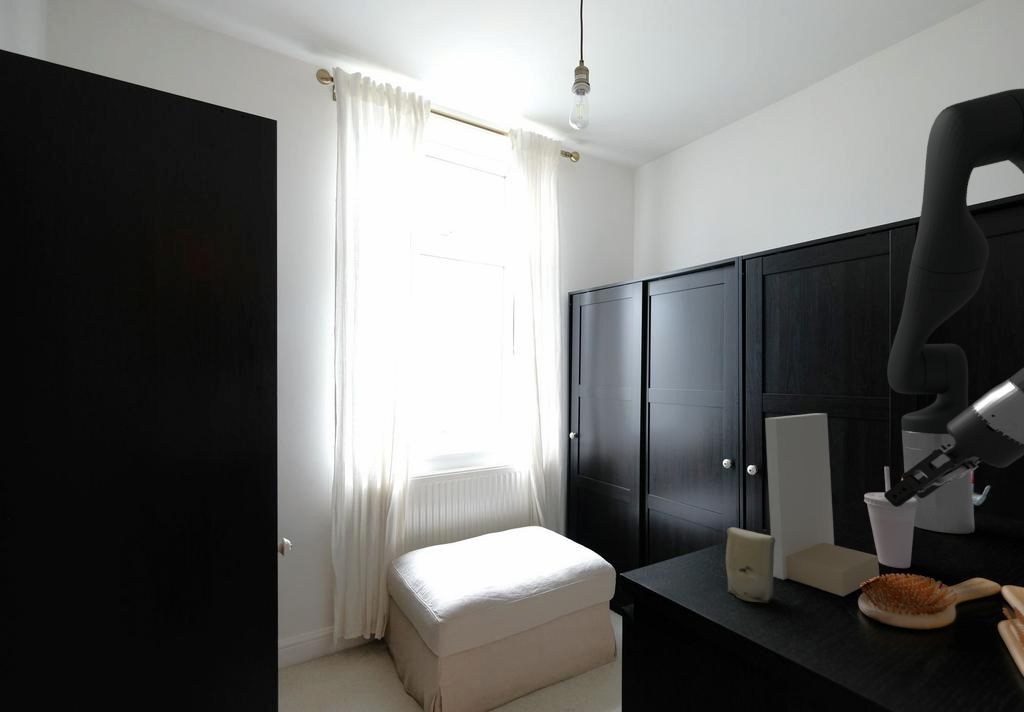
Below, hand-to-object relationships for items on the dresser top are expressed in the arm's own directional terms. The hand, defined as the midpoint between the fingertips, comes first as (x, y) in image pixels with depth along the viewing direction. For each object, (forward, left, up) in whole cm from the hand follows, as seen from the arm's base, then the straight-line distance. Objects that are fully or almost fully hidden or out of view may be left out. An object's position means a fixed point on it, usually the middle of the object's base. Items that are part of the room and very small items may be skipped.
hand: (903, 496), depth 72 cm
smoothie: (0, -2, -10) cm, 10 cm away
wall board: (+12, -5, -10) cm, 16 cm away
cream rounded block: (+27, -7, -10) cm, 30 cm away
